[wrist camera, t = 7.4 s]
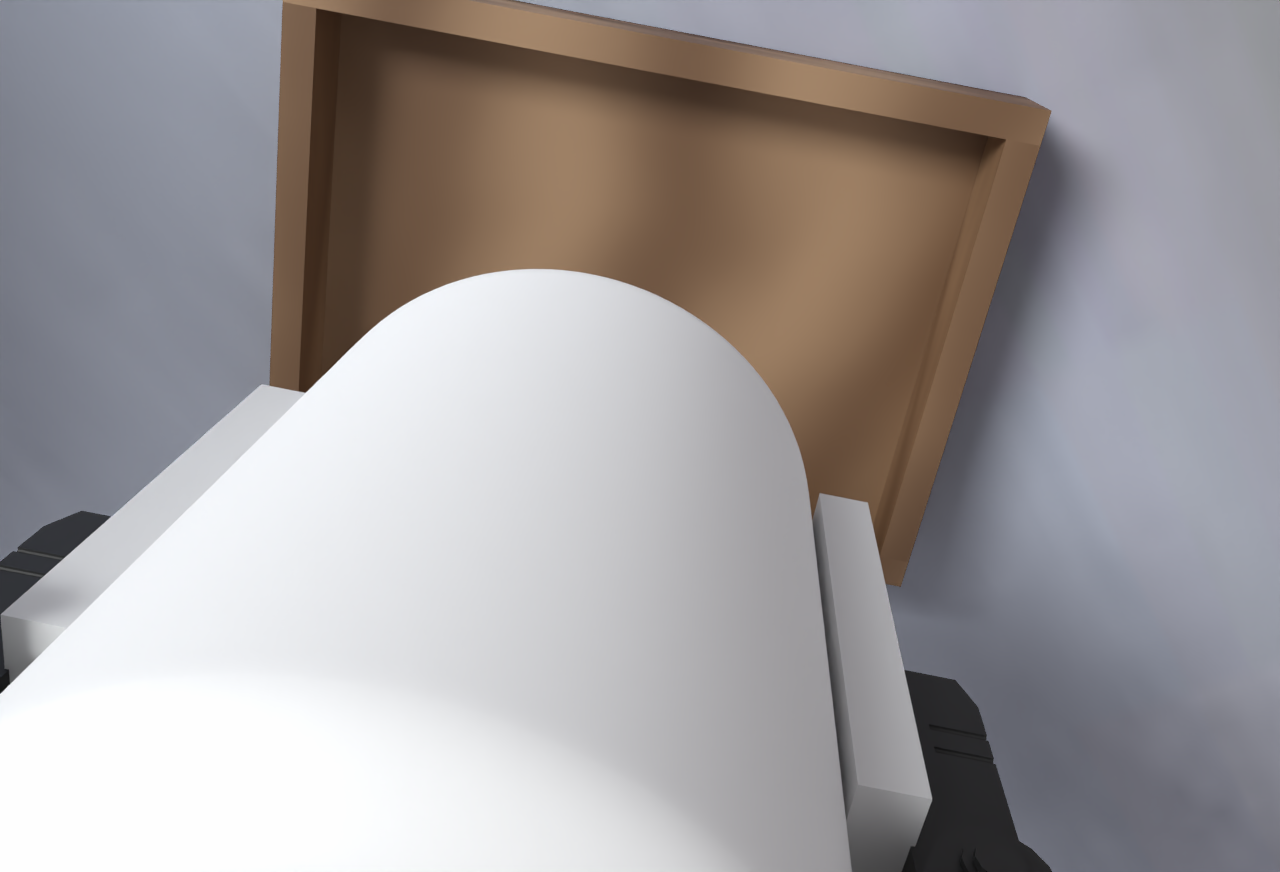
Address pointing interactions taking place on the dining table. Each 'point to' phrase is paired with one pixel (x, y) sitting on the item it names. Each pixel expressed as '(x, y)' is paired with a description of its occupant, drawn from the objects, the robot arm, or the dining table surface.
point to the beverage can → (461, 622)
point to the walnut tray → (658, 206)
